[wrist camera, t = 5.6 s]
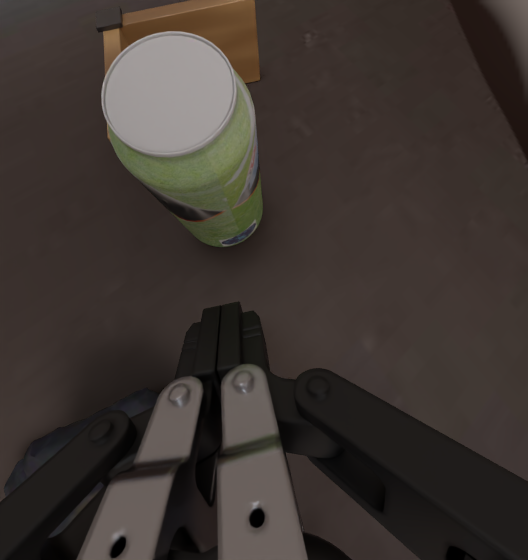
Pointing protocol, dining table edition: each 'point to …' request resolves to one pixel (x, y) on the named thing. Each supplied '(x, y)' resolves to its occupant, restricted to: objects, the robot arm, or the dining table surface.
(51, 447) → the grommeted fabric pouch
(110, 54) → the shelf corner
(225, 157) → the beverage can
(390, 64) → the dining table surface
